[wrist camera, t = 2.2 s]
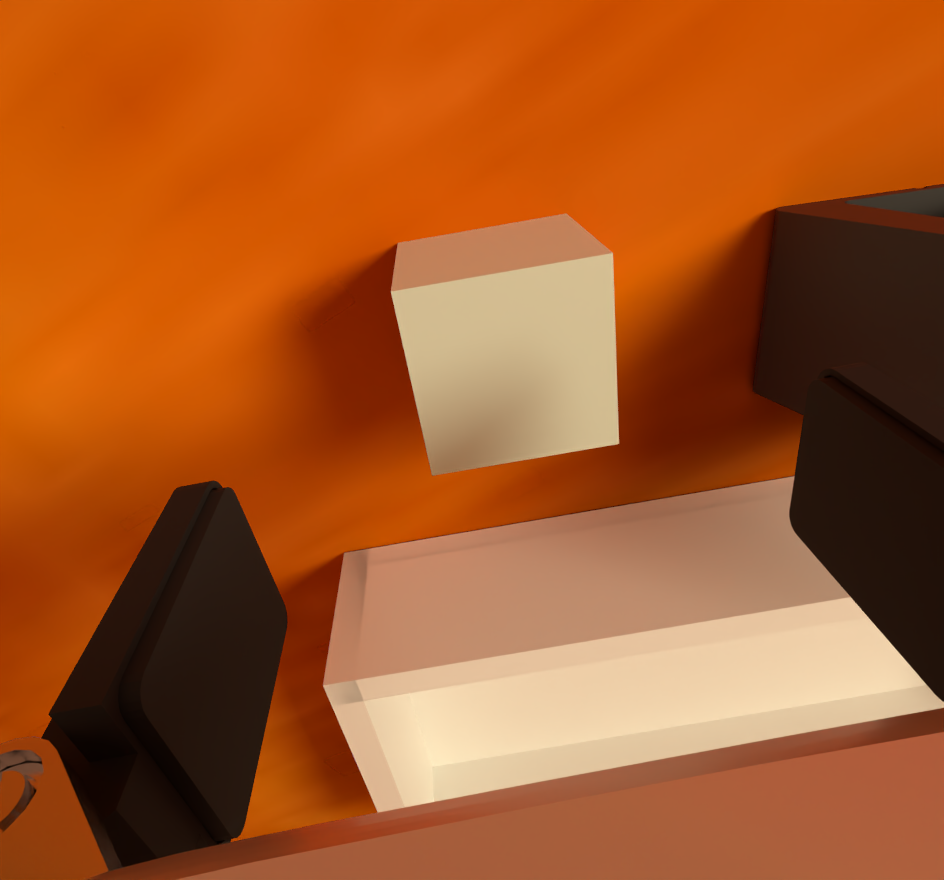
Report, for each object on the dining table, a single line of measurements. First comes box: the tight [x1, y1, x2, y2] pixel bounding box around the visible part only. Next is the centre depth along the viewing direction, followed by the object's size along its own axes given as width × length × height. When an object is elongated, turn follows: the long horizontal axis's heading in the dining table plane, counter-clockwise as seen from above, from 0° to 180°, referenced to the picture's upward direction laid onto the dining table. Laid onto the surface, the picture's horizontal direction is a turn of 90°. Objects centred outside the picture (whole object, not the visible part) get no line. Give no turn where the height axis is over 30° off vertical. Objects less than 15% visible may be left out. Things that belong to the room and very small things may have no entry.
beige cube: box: [391, 214, 619, 476], centre depth 17 cm, size 5×5×5 cm
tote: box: [323, 476, 944, 812], centre depth 24 cm, size 30×14×6 cm, turn 99°
